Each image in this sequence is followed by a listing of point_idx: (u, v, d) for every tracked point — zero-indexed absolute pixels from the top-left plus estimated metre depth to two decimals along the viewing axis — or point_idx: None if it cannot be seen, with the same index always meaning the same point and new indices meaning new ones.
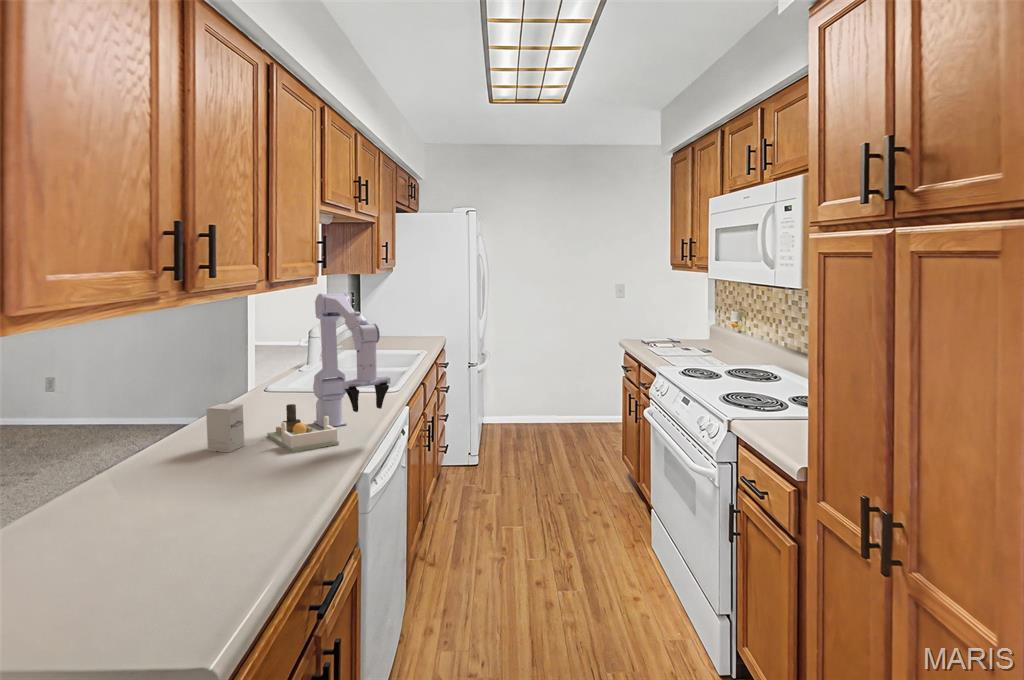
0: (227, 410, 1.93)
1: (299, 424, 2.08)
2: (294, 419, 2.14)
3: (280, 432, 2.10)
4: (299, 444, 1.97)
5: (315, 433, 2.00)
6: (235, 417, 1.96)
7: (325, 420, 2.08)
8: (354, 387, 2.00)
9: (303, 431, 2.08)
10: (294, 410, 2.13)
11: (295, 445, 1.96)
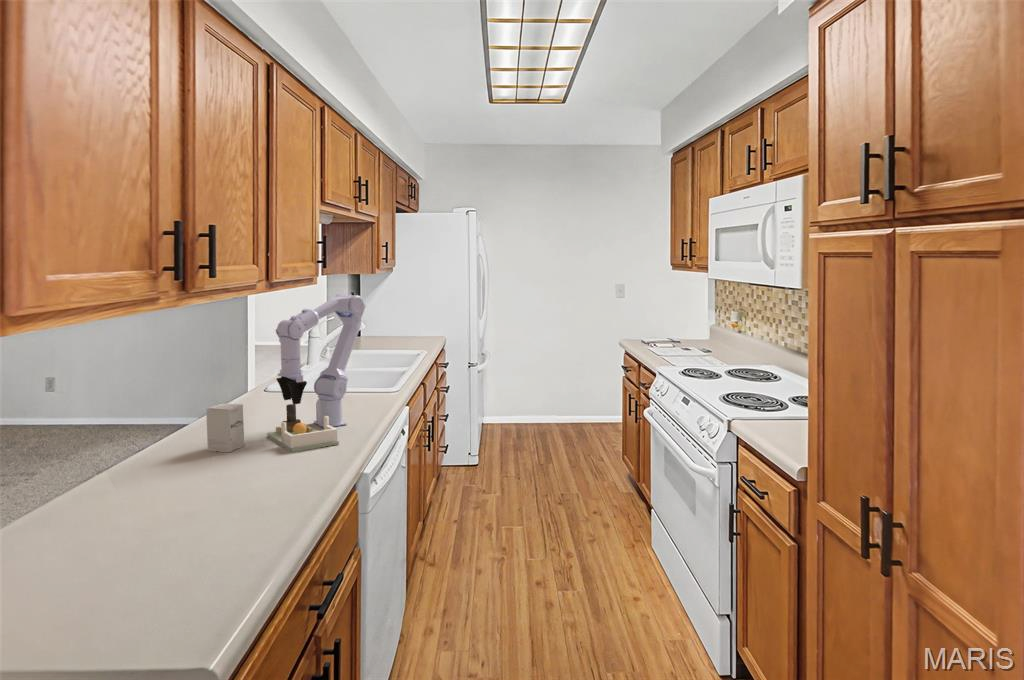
0: (227, 410, 1.93)
1: (299, 424, 2.08)
2: (294, 419, 2.14)
3: (280, 432, 2.10)
4: (299, 444, 1.97)
5: (315, 433, 2.00)
6: (236, 417, 1.96)
7: (325, 420, 2.08)
8: (283, 376, 2.16)
9: (303, 431, 2.08)
10: (294, 410, 2.13)
11: (295, 445, 1.96)
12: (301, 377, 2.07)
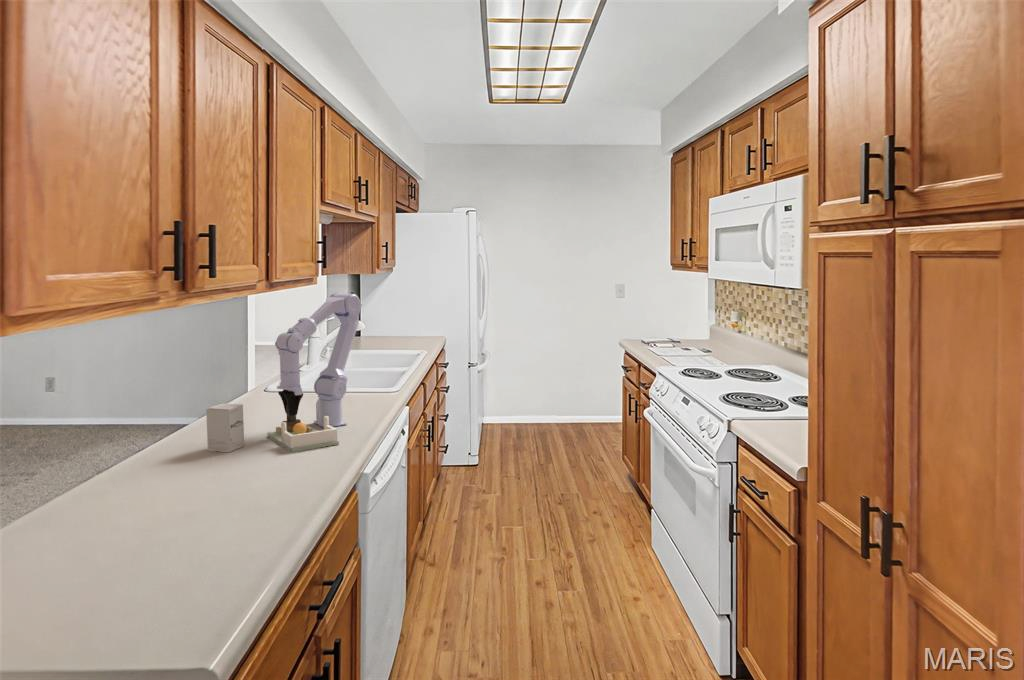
0: (227, 410, 1.93)
1: (299, 424, 2.08)
2: (294, 419, 2.14)
3: (280, 432, 2.10)
4: (299, 444, 1.97)
5: (315, 433, 2.00)
6: (235, 417, 1.96)
7: (325, 420, 2.08)
8: (283, 389, 2.16)
9: (303, 431, 2.08)
10: None
11: (295, 445, 1.96)
12: (300, 390, 2.08)
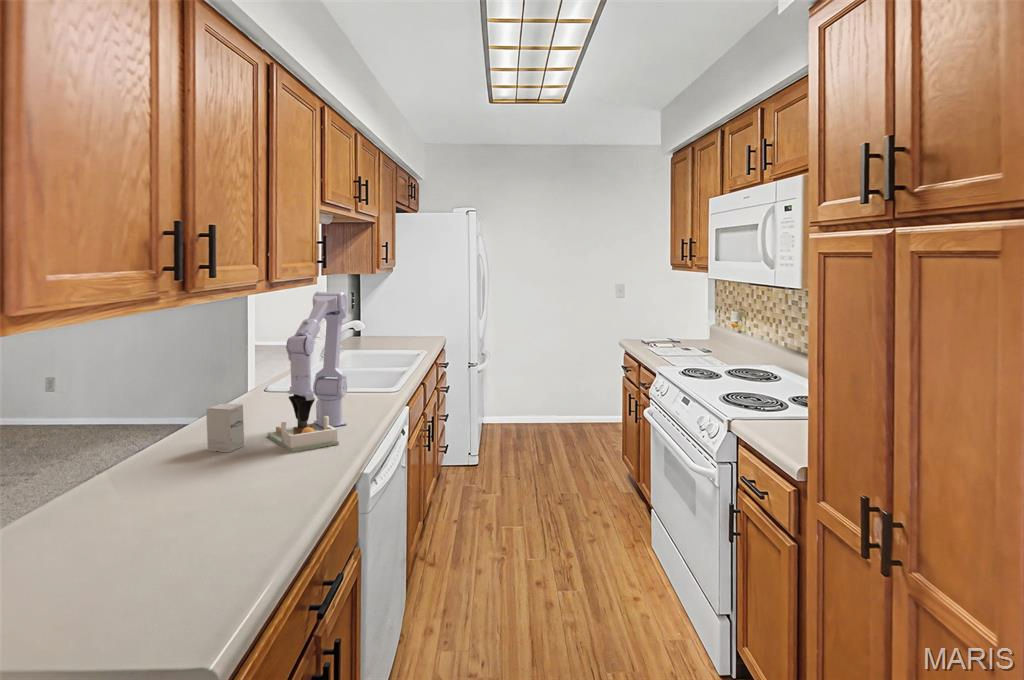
0: (227, 410, 1.93)
1: None
2: (305, 425, 2.06)
3: (280, 432, 2.10)
4: (299, 444, 1.97)
5: (315, 433, 2.00)
6: (236, 417, 1.96)
7: (325, 420, 2.08)
8: (293, 393, 2.09)
9: None
10: None
11: (295, 445, 1.96)
12: (311, 395, 2.00)
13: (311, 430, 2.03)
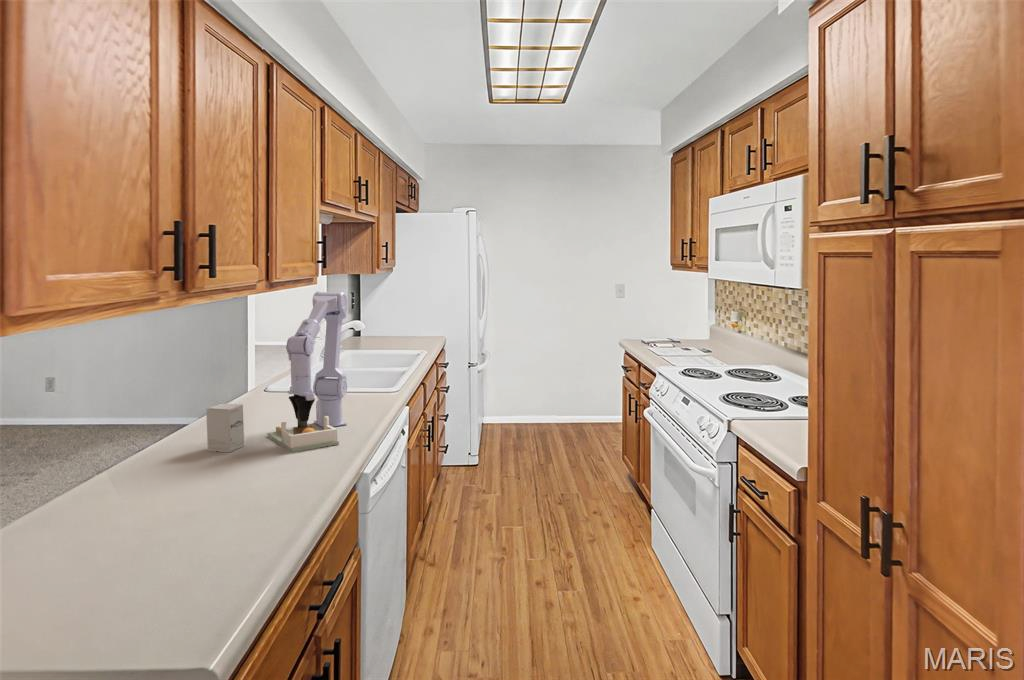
0: (227, 410, 1.93)
1: None
2: (305, 425, 2.06)
3: (280, 432, 2.10)
4: (299, 444, 1.97)
5: (315, 433, 2.00)
6: (235, 417, 1.96)
7: (325, 420, 2.08)
8: (293, 393, 2.09)
9: None
10: None
11: (295, 445, 1.96)
12: (311, 395, 2.00)
13: None
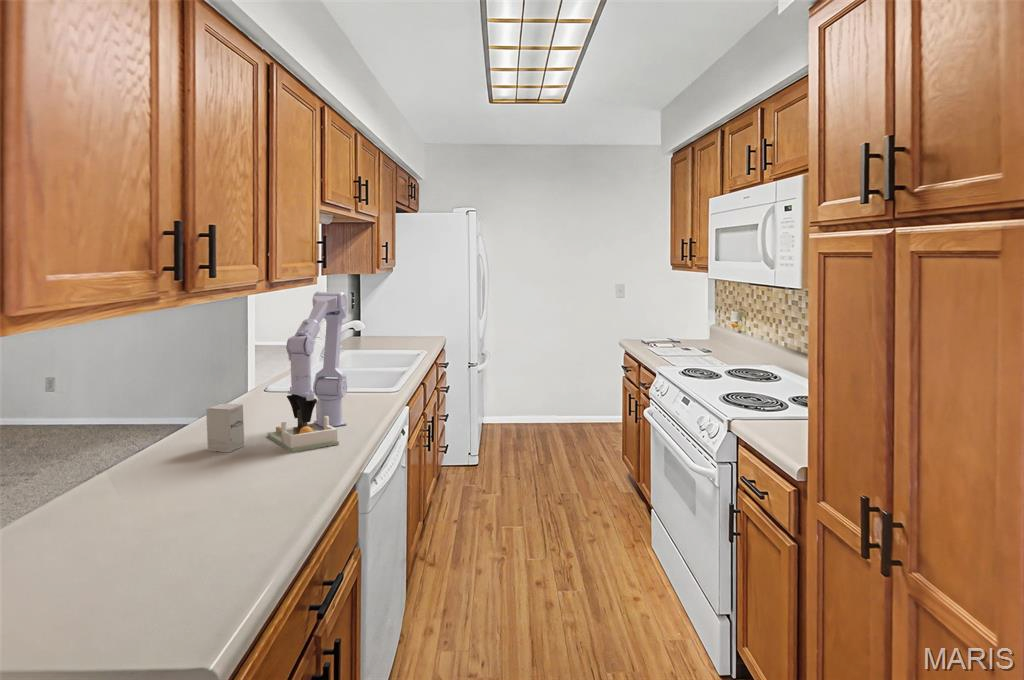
0: (227, 410, 1.93)
1: None
2: (305, 425, 2.06)
3: (280, 432, 2.10)
4: (299, 444, 1.97)
5: (315, 433, 2.00)
6: (236, 417, 1.96)
7: (325, 420, 2.08)
8: (293, 394, 2.09)
9: None
10: None
11: (295, 445, 1.96)
12: (311, 395, 2.00)
13: (308, 427, 2.05)
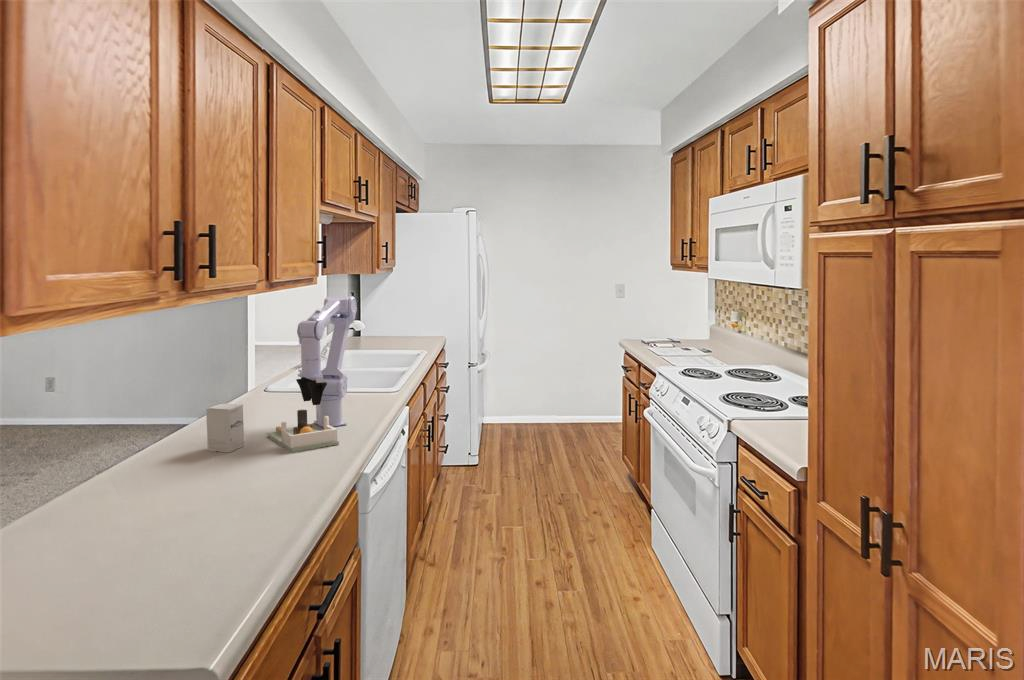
0: (227, 410, 1.93)
1: None
2: (305, 425, 2.06)
3: (280, 432, 2.10)
4: (299, 444, 1.97)
5: (315, 433, 2.00)
6: (235, 417, 1.96)
7: (325, 420, 2.08)
8: (303, 377, 2.15)
9: None
10: (305, 416, 2.06)
11: (295, 445, 1.96)
12: (321, 378, 2.06)
13: (308, 427, 2.04)
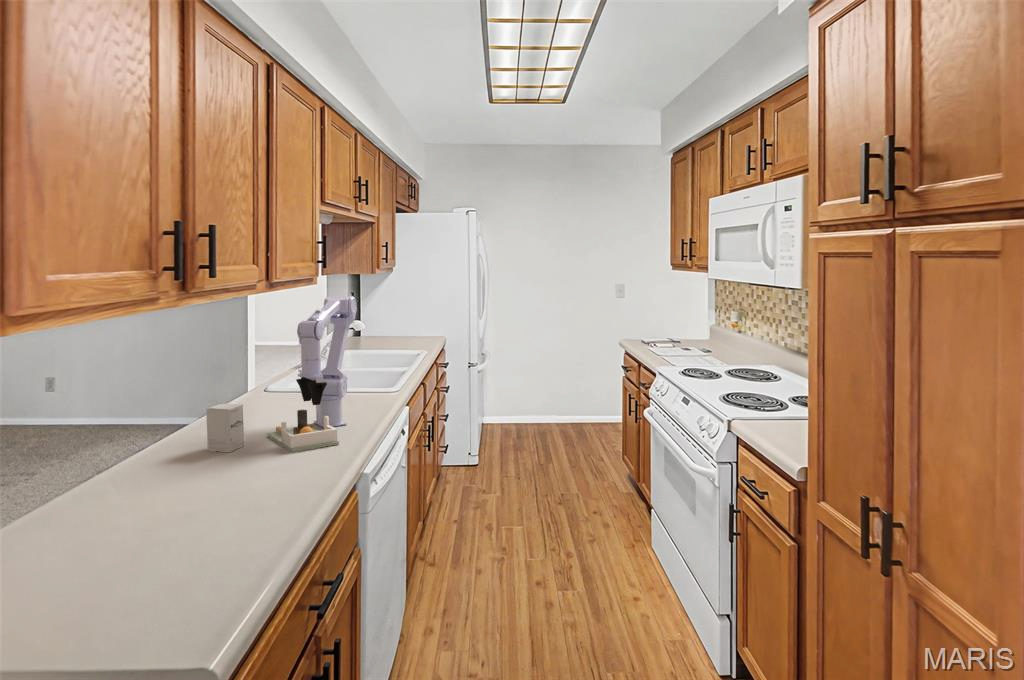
0: (227, 410, 1.93)
1: None
2: (305, 425, 2.06)
3: (280, 432, 2.10)
4: (299, 444, 1.97)
5: (315, 433, 2.00)
6: (235, 417, 1.96)
7: (325, 420, 2.08)
8: (303, 377, 2.15)
9: None
10: (305, 416, 2.06)
11: (295, 445, 1.96)
12: (321, 378, 2.06)
13: (309, 427, 2.04)
